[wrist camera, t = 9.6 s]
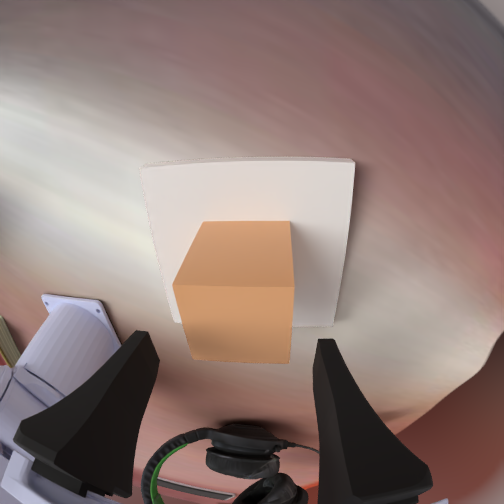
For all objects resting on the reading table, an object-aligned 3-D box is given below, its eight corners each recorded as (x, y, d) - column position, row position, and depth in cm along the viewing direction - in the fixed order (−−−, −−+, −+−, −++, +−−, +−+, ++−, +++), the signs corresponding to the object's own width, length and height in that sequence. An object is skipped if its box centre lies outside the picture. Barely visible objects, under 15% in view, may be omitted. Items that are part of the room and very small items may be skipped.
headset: (317, 382, 40) (129, 442, 30) (365, 367, 29) (102, 455, 19) (356, 475, 33) (178, 543, 23) (411, 486, 21) (175, 588, 11)
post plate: (331, 317, 21) (337, 357, 18) (177, 313, 22) (163, 351, 19) (350, 158, 15) (371, 180, 12) (145, 163, 16) (114, 185, 13)
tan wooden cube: (287, 290, 19) (289, 363, 14) (212, 289, 19) (192, 359, 14) (289, 220, 16) (294, 287, 11) (203, 221, 17) (172, 284, 12)
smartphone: (147, 471, 62) (146, 476, 61) (236, 492, 64) (235, 496, 63) (148, 478, 69) (147, 482, 68) (226, 496, 71) (226, 500, 70)
